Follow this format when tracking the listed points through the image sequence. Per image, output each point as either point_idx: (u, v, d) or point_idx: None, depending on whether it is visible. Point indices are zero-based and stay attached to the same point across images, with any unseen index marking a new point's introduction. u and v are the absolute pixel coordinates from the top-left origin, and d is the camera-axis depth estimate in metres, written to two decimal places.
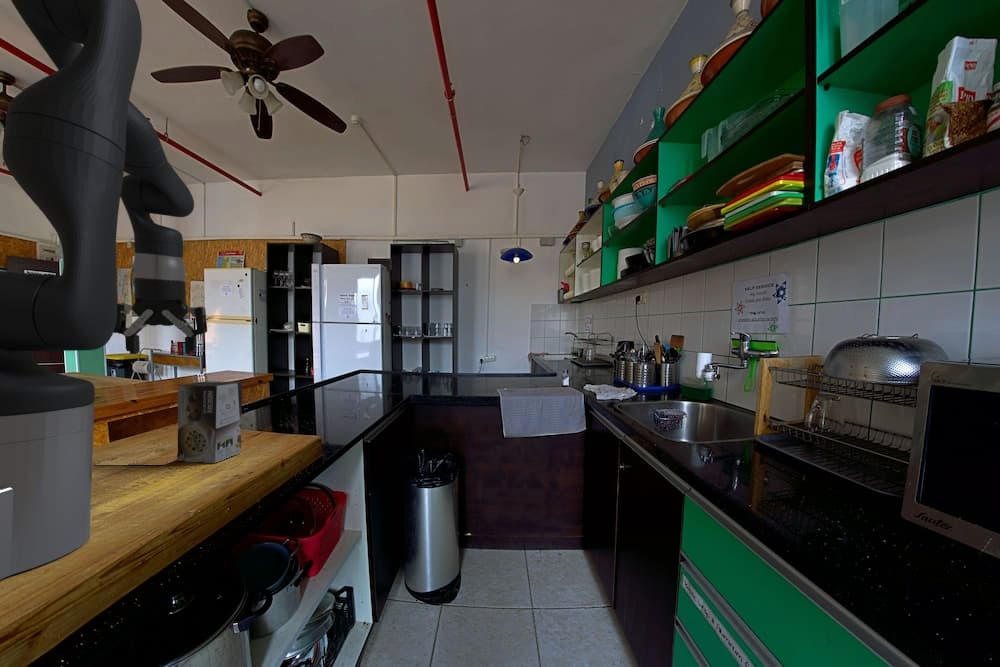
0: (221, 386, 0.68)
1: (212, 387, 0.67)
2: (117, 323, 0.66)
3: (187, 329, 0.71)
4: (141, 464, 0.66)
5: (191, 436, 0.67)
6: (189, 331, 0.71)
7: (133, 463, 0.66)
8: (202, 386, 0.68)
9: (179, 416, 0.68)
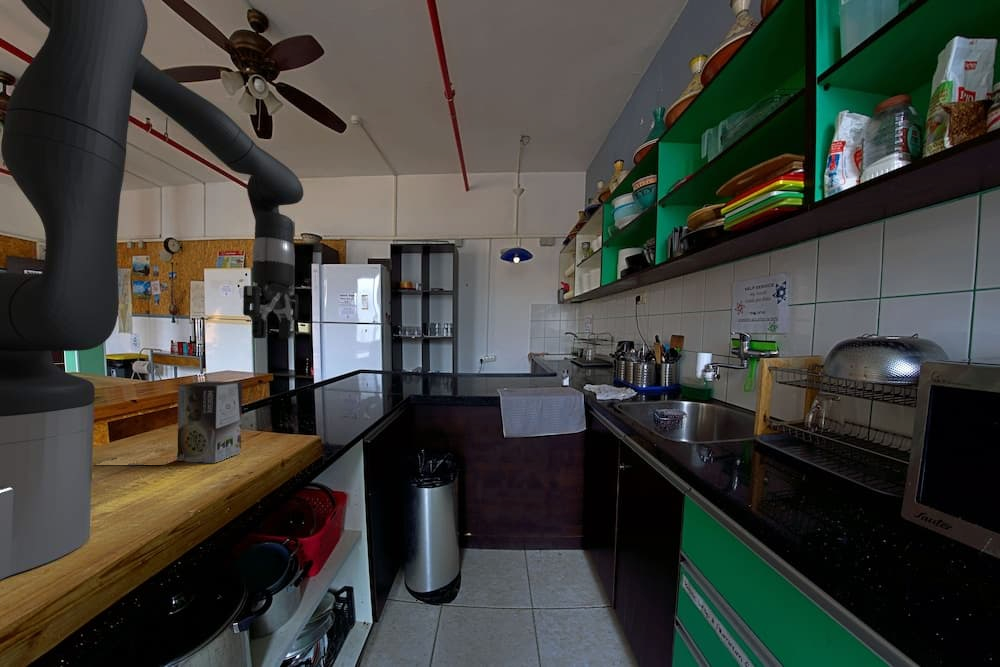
0: (221, 386, 0.68)
1: (212, 387, 0.67)
2: None
3: None
4: (141, 464, 0.66)
5: (191, 436, 0.67)
6: None
7: (133, 463, 0.66)
8: (202, 386, 0.68)
9: (179, 416, 0.68)
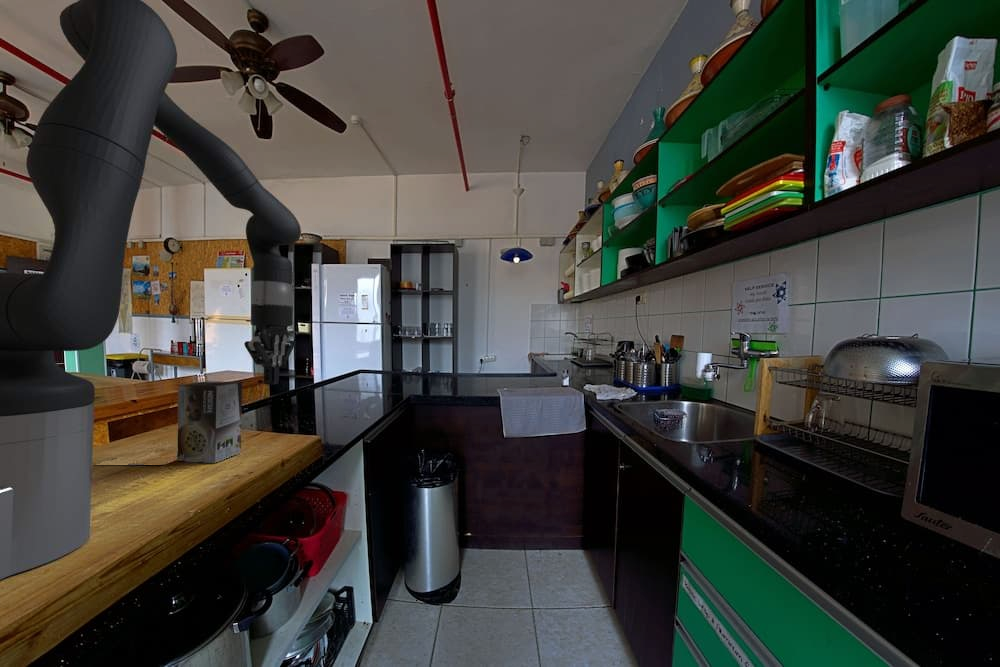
0: (221, 386, 0.68)
1: (212, 387, 0.67)
2: None
3: None
4: (141, 464, 0.66)
5: (191, 436, 0.67)
6: None
7: (133, 463, 0.66)
8: (202, 386, 0.68)
9: (179, 416, 0.68)
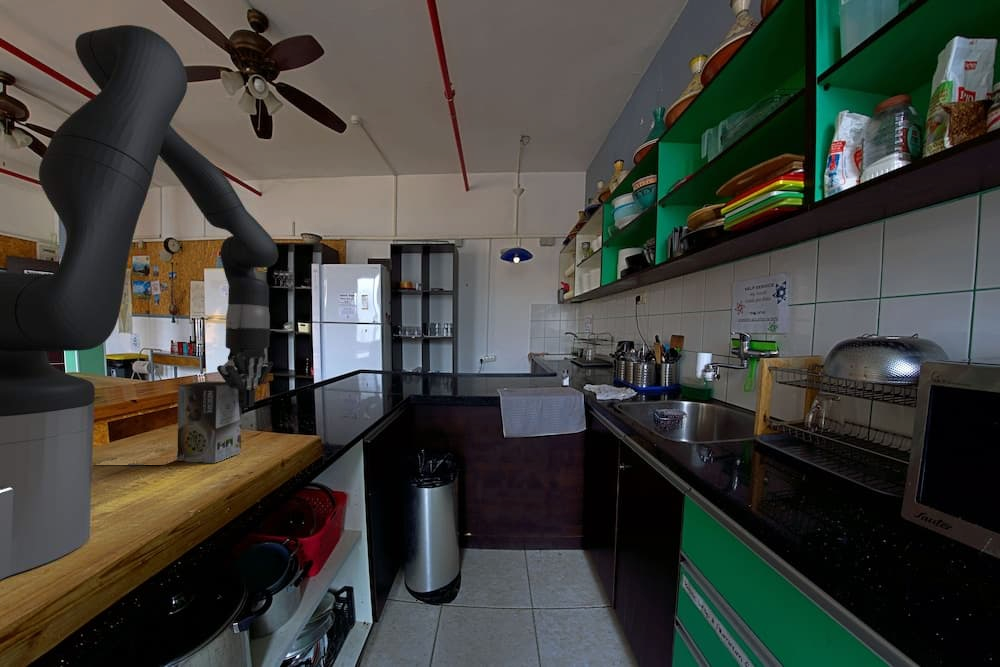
0: (221, 386, 0.68)
1: (212, 387, 0.67)
2: None
3: None
4: (141, 464, 0.66)
5: (191, 436, 0.67)
6: None
7: (133, 463, 0.66)
8: (202, 386, 0.68)
9: (179, 416, 0.68)
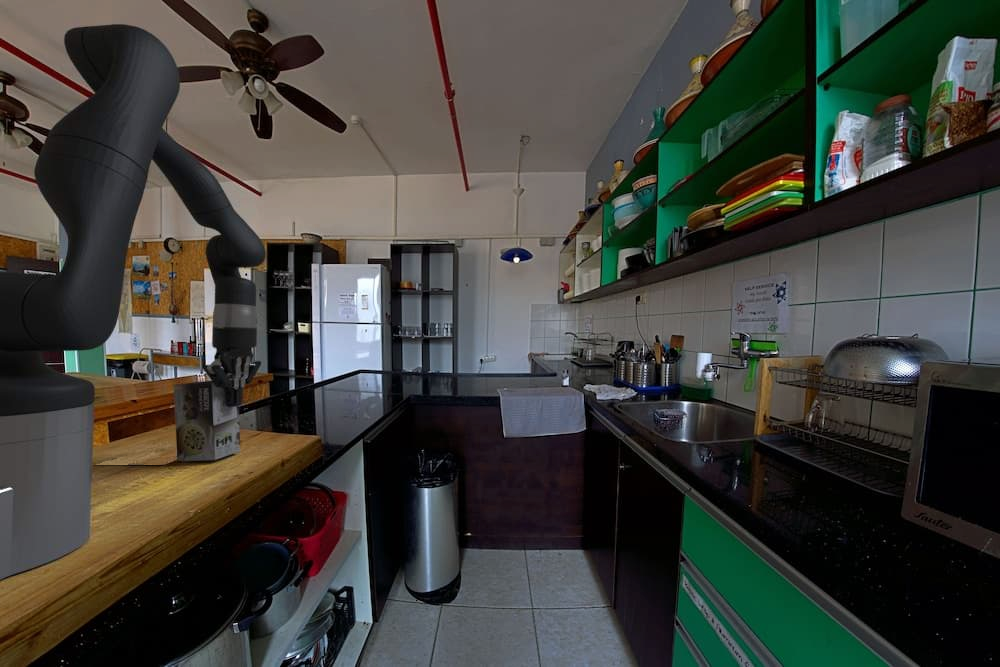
0: None
1: (207, 384, 0.68)
2: None
3: None
4: (141, 464, 0.66)
5: (189, 435, 0.68)
6: None
7: (133, 463, 0.66)
8: (197, 384, 0.68)
9: (176, 416, 0.68)
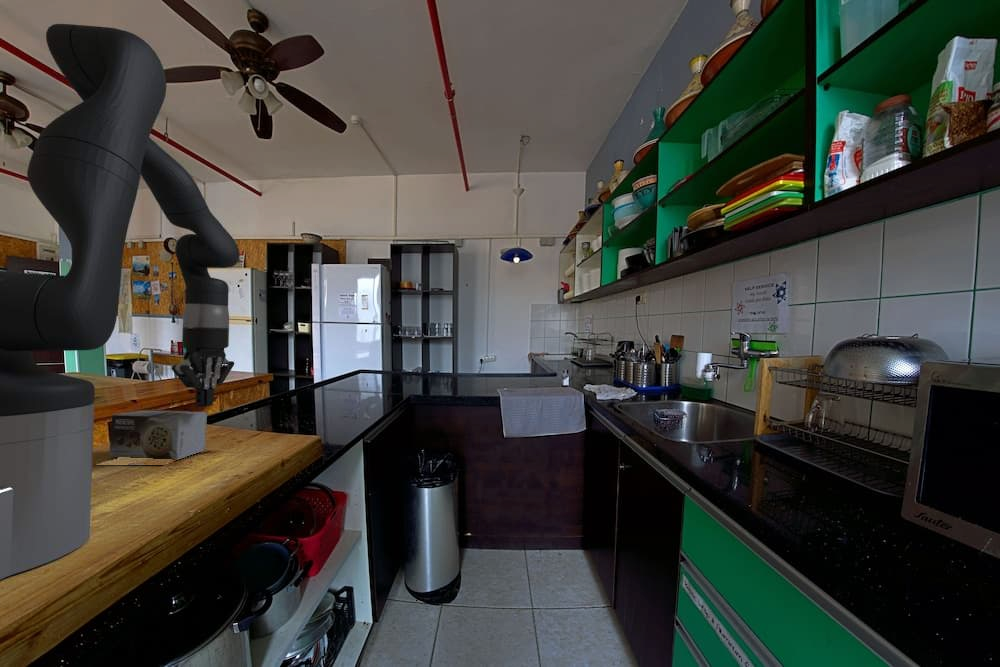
0: None
1: (113, 419, 0.70)
2: None
3: None
4: (141, 464, 0.66)
5: (153, 442, 0.68)
6: None
7: (133, 463, 0.66)
8: (111, 430, 0.70)
9: (135, 455, 0.69)
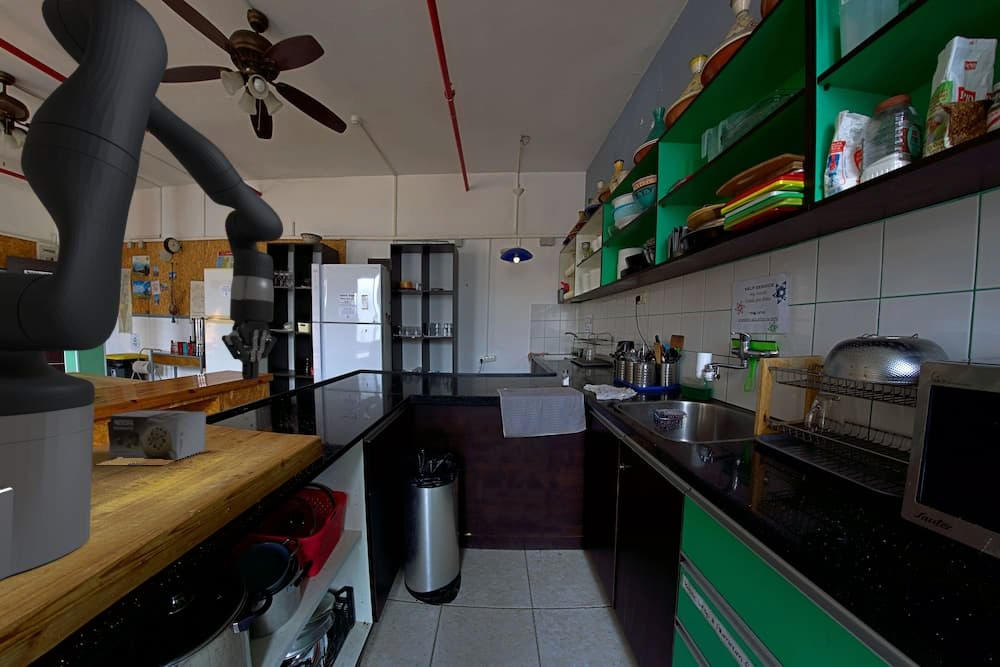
0: (117, 414, 0.71)
1: (111, 420, 0.69)
2: None
3: None
4: (141, 464, 0.66)
5: (153, 443, 0.68)
6: None
7: (133, 463, 0.66)
8: (110, 430, 0.69)
9: (135, 456, 0.69)
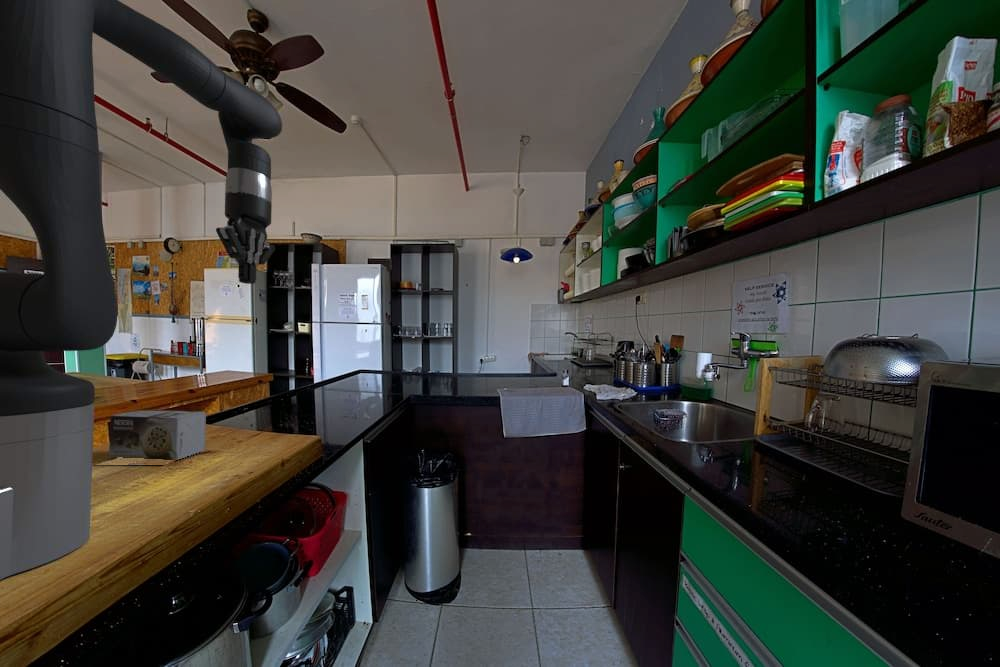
0: (117, 414, 0.71)
1: (111, 420, 0.69)
2: None
3: None
4: (141, 464, 0.66)
5: (153, 443, 0.68)
6: None
7: (133, 463, 0.66)
8: (110, 430, 0.69)
9: (135, 456, 0.69)
